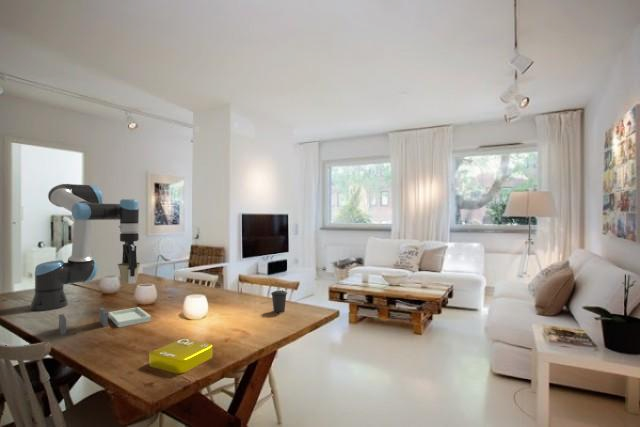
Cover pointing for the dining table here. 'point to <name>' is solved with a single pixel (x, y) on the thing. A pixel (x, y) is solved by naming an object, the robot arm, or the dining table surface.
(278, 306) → the coffee cup
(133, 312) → the tray
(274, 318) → the dining table surface
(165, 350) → the element tile
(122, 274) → the flower pot
